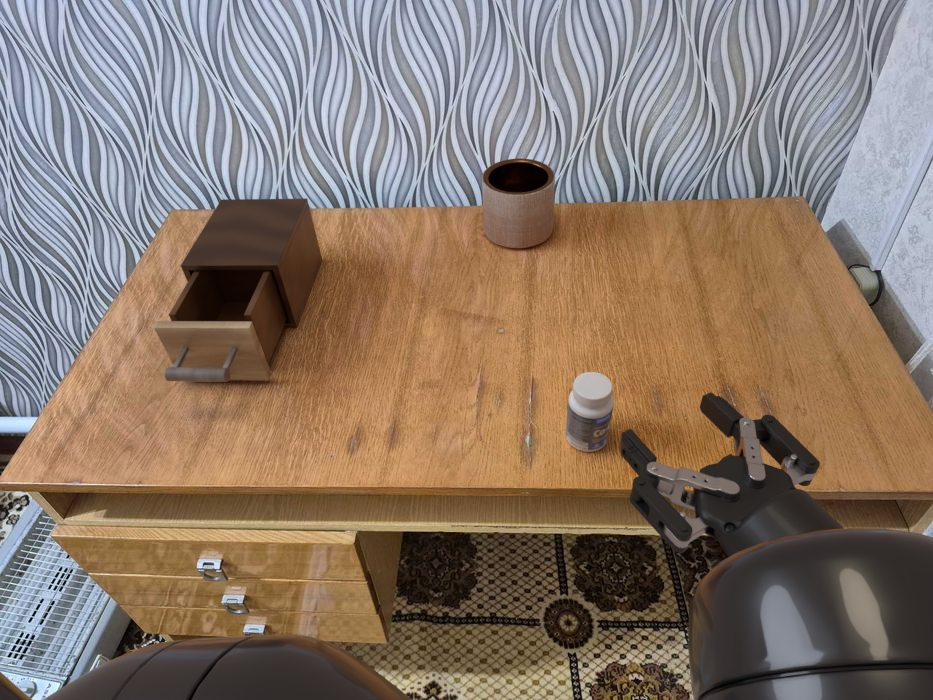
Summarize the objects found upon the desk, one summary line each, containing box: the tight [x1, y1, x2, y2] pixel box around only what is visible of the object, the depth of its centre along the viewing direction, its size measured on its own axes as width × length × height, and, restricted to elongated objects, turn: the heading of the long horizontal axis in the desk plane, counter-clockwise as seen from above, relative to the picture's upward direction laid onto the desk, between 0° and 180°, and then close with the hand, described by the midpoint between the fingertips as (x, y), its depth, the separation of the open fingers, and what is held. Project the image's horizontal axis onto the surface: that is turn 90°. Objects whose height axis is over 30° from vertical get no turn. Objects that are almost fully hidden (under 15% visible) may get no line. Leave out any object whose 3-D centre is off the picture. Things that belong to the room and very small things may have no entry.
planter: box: [481, 158, 556, 250], centre depth 100 cm, size 11×11×10 cm
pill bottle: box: [565, 371, 615, 453], centre depth 71 cm, size 5×5×8 cm
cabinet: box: [180, 198, 323, 329], centre depth 92 cm, size 16×13×11 cm
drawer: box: [153, 270, 288, 383], centre depth 82 cm, size 20×11×9 cm, turn 176°
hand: (665, 417), depth 58 cm, fingers open, 8 cm apart
